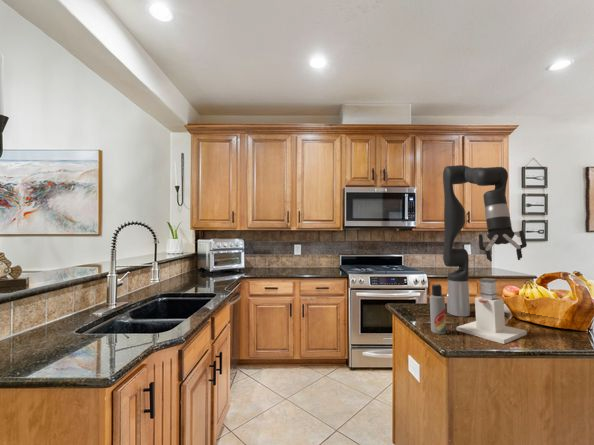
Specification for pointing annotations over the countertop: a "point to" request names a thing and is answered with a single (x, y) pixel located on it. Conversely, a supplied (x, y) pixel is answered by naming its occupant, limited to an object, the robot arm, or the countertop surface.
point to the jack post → (488, 288)
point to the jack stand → (491, 322)
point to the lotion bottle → (437, 310)
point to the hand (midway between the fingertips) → (504, 260)
